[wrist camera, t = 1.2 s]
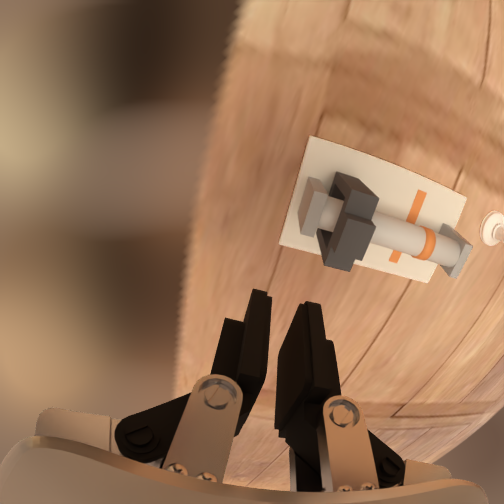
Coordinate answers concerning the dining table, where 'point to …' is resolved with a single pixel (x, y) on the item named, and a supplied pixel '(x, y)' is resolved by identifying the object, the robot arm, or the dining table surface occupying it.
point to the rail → (388, 202)
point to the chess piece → (492, 228)
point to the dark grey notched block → (348, 223)
